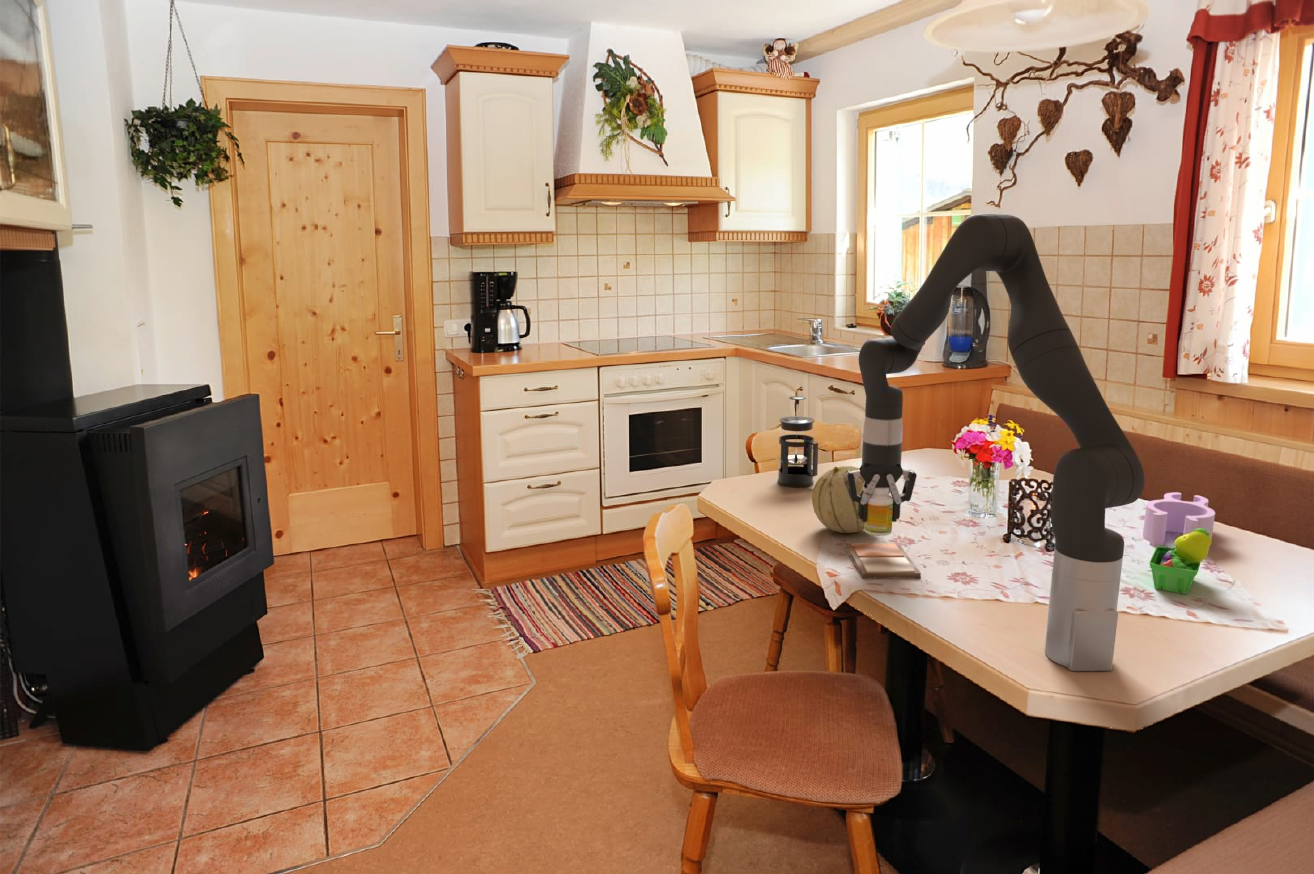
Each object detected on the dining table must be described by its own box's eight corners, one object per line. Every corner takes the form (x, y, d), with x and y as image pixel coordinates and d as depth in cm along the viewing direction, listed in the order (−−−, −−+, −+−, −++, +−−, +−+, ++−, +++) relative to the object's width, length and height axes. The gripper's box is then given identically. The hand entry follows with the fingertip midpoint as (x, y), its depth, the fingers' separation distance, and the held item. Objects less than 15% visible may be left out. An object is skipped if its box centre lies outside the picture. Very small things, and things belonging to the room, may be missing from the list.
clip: (1152, 518, 198) (1156, 489, 197) (1217, 529, 191) (1221, 498, 189) (1136, 543, 183) (1140, 512, 181) (1206, 556, 175) (1210, 523, 174)
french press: (768, 482, 230) (769, 396, 225) (790, 475, 237) (792, 391, 231) (803, 491, 222) (805, 402, 217) (826, 483, 228) (828, 397, 223)
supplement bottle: (892, 537, 173) (894, 490, 171) (864, 535, 174) (866, 489, 172) (890, 528, 179) (893, 482, 176) (863, 526, 180) (865, 481, 177)
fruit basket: (1153, 569, 168) (1160, 514, 166) (1207, 579, 163) (1215, 522, 161) (1145, 589, 159) (1152, 530, 157) (1202, 600, 154) (1210, 540, 152)
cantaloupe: (893, 533, 190) (897, 466, 187) (846, 547, 182) (849, 478, 179) (843, 516, 202) (845, 453, 199) (796, 528, 194) (798, 463, 191)
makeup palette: (920, 577, 166) (921, 571, 166) (862, 578, 166) (862, 571, 166) (898, 548, 181) (899, 542, 181) (845, 548, 182) (845, 542, 181)
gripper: (849, 443, 168) (846, 527, 172) (924, 443, 168) (919, 526, 172) (842, 435, 176) (839, 515, 180) (913, 434, 176) (909, 514, 179)
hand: (878, 520), depth 176 cm, fingers closed on supplement bottle, 5 cm apart
